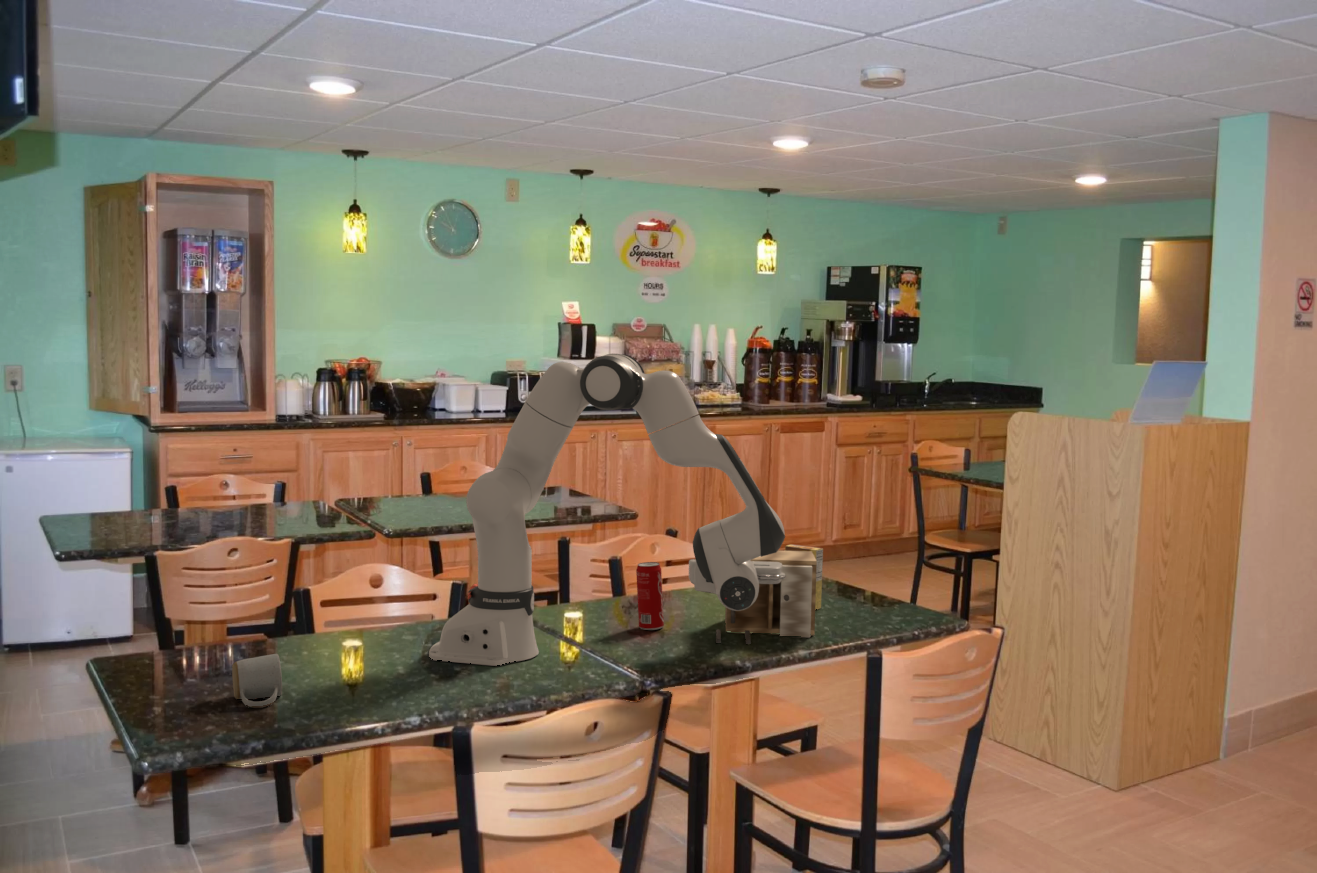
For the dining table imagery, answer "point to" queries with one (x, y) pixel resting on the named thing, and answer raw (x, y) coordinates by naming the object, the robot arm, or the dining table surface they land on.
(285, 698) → the dining table surface
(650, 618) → the beverage can
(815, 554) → the candy box
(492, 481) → the robot arm
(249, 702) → the ceramic mug
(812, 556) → the cabinet
